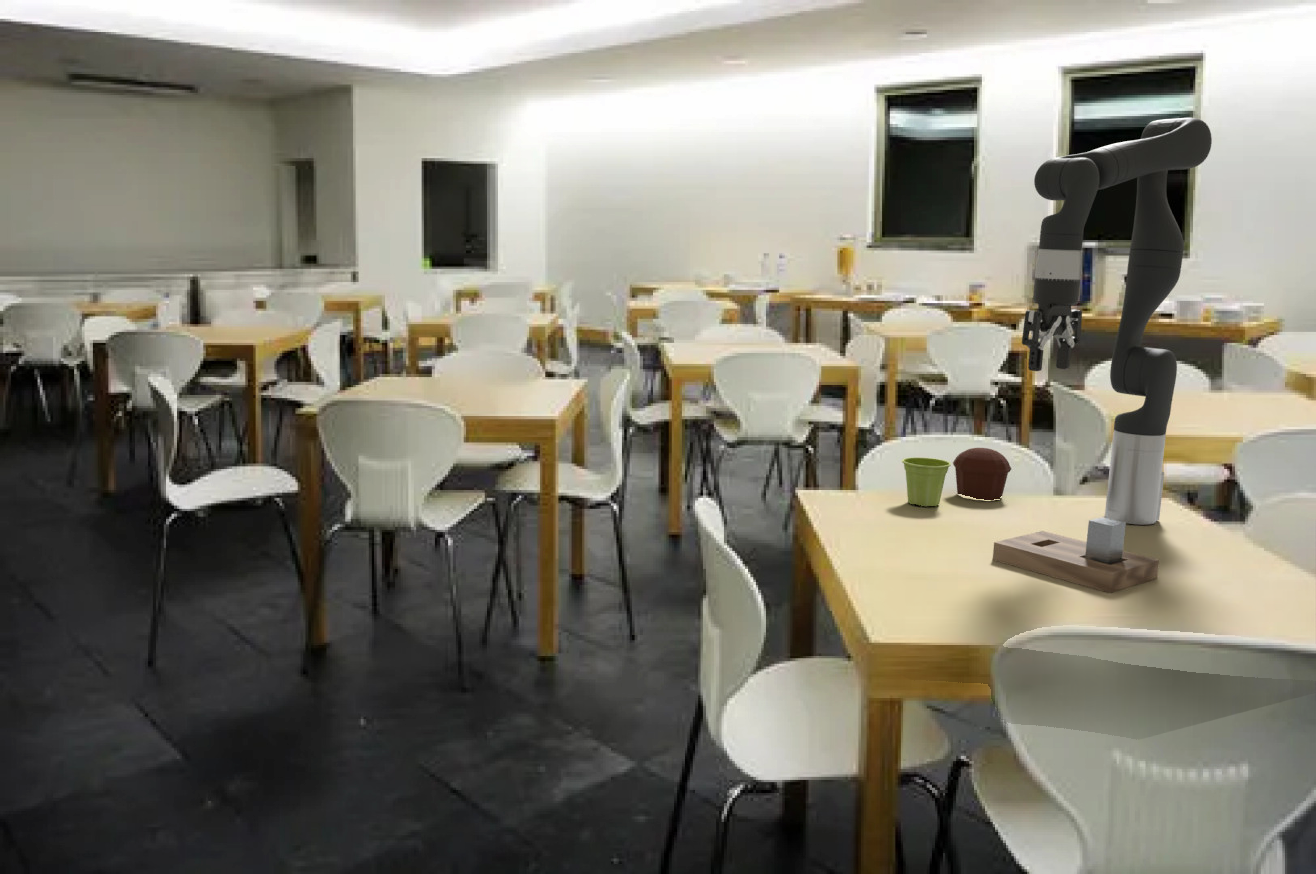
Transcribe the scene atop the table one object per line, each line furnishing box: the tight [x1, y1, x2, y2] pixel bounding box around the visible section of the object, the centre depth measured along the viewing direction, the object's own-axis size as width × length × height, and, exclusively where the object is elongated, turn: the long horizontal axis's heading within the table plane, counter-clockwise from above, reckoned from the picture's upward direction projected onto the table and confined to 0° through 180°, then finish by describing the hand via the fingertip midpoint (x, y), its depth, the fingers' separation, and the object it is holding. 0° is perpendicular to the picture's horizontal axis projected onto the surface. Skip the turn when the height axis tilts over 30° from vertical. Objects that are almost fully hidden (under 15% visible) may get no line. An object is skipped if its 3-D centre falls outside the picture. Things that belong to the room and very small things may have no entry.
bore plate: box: [992, 530, 1160, 594], centre depth 186 cm, size 14×21×3 cm, turn 39°
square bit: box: [1085, 516, 1127, 565], centre depth 181 cm, size 4×4×9 cm
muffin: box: [952, 447, 1012, 500], centre depth 236 cm, size 12×11×10 cm
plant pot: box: [901, 457, 952, 507], centre depth 228 cm, size 9×9×9 cm
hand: (1048, 369), depth 201 cm, fingers open, 8 cm apart
